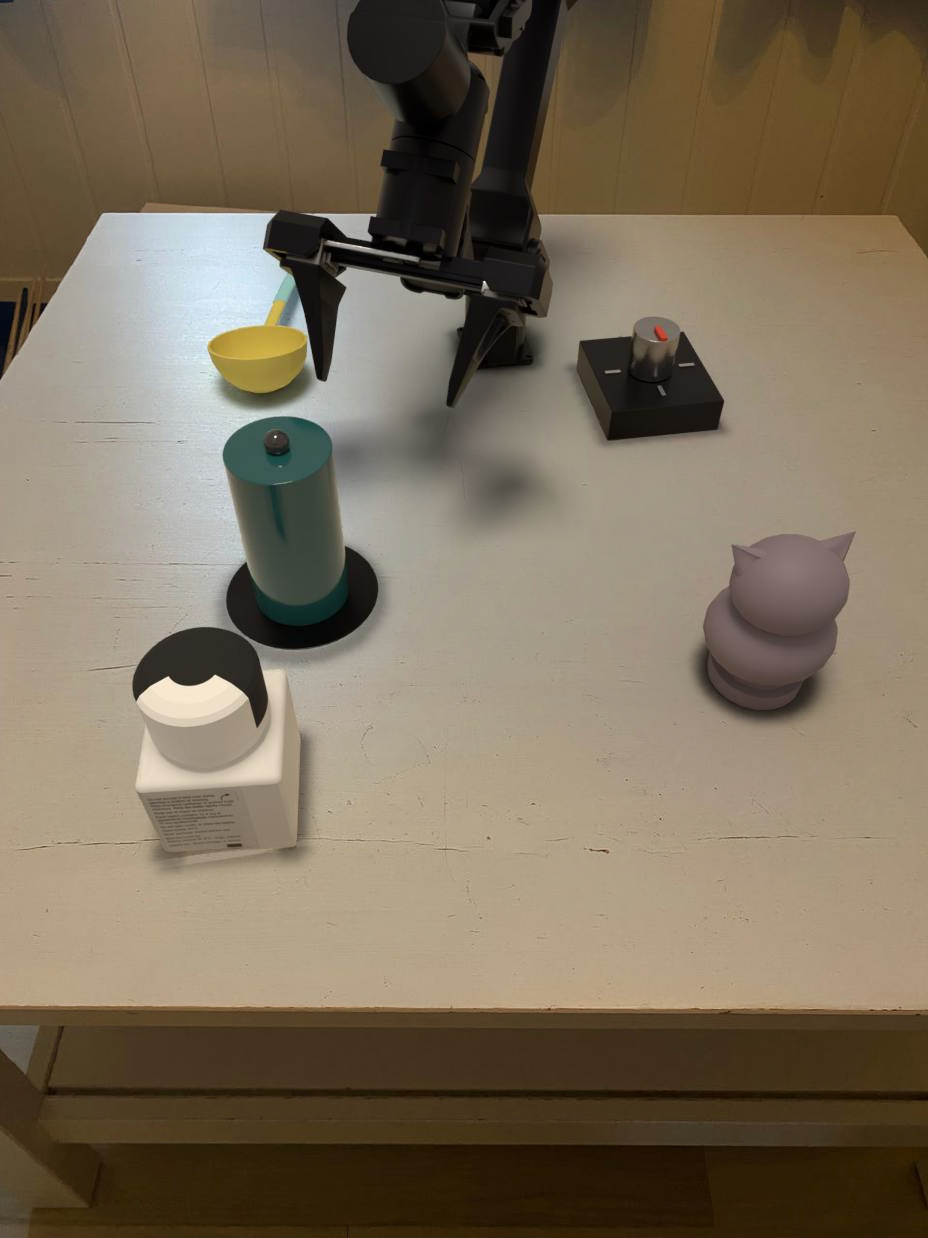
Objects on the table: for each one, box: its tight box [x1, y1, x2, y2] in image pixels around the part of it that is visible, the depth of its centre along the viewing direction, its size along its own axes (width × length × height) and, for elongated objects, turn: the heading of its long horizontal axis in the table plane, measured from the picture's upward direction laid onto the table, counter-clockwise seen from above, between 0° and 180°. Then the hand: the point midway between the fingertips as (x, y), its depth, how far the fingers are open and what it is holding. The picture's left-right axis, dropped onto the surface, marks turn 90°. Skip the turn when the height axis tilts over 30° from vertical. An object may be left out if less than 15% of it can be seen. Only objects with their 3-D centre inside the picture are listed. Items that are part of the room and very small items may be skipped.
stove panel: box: [576, 331, 725, 441], centre depth 85 cm, size 11×10×3 cm
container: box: [131, 626, 301, 854], centre depth 53 cm, size 8×8×13 cm
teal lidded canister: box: [221, 415, 349, 626], centre depth 63 cm, size 7×7×14 cm
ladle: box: [206, 272, 308, 394], centre depth 92 cm, size 9×26×6 cm, turn 177°
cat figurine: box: [702, 531, 857, 711], centre depth 60 cm, size 8×8×12 cm
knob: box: [627, 316, 681, 382], centre depth 82 cm, size 4×4×4 cm
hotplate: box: [225, 545, 379, 651], centre depth 69 cm, size 11×11×1 cm
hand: (384, 393), depth 64 cm, fingers open, 9 cm apart
